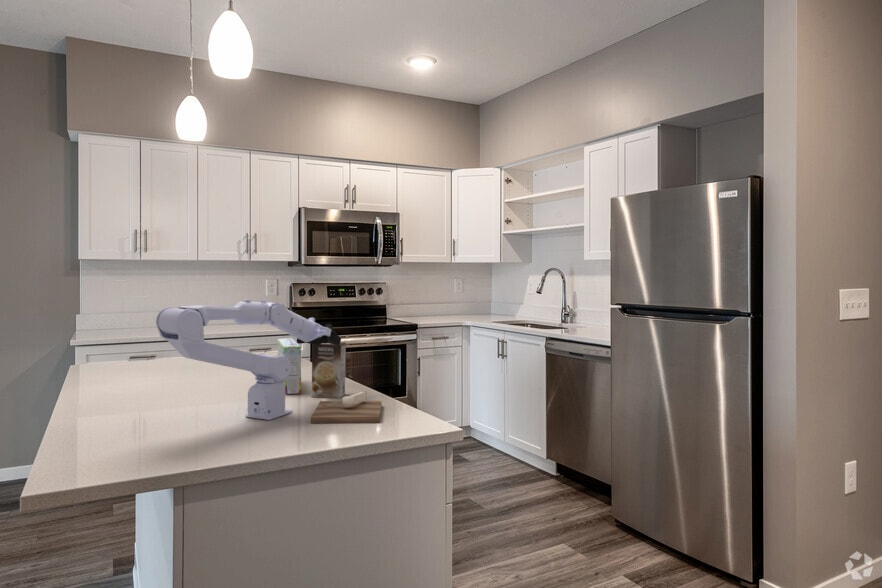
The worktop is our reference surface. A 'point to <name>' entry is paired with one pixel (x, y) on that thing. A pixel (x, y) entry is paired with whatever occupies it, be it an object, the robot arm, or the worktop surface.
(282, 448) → the worktop surface
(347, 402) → the white bulb ended bar
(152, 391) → the worktop surface
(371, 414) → the board
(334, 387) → the coffee box
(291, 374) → the snack box
